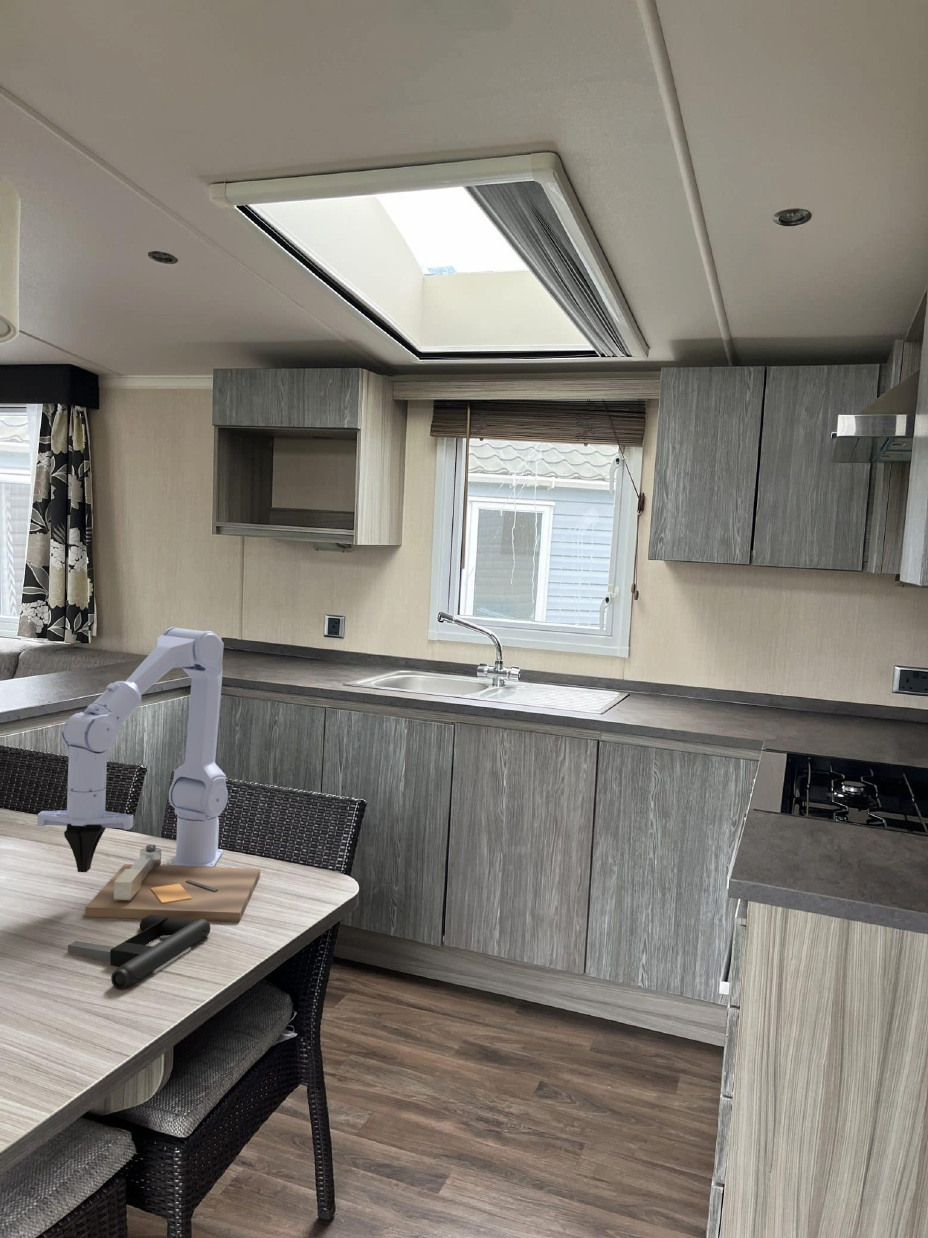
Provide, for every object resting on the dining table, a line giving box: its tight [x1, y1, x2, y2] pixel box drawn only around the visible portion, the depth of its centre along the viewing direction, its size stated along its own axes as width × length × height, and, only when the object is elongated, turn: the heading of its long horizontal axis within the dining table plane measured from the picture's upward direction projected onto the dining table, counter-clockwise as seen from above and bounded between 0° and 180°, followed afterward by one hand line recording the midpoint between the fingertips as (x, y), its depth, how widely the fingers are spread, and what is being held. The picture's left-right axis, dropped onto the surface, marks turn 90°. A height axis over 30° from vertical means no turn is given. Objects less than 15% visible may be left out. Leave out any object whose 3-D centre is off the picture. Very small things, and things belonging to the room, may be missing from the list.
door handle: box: [67, 915, 211, 990], centre depth 133 cm, size 3×20×16 cm
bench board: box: [84, 863, 261, 923], centre depth 154 cm, size 20×24×2 cm
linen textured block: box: [114, 844, 162, 900], centre depth 155 cm, size 18×4×4 cm, turn 4°
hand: (84, 870), depth 148 cm, fingers closed
